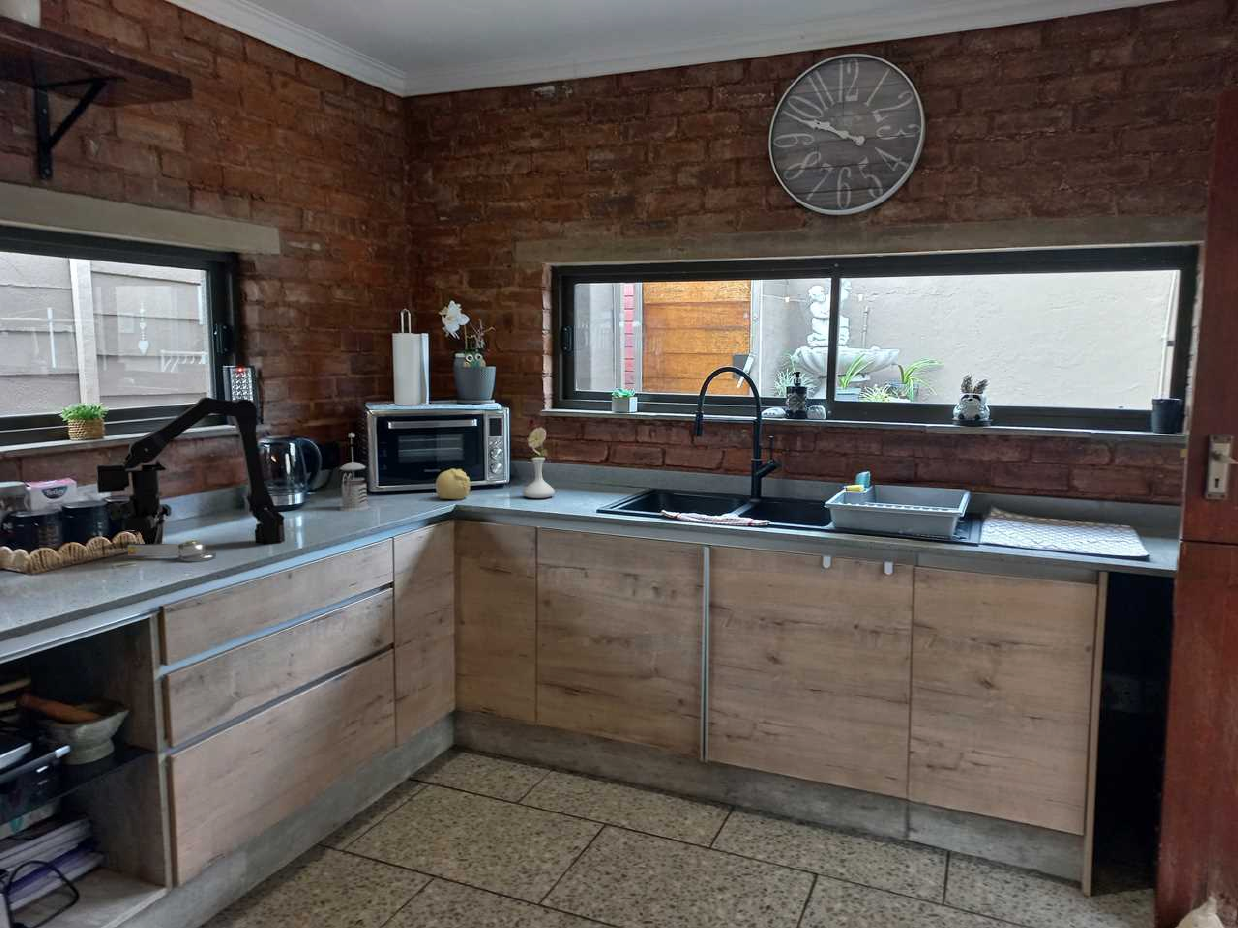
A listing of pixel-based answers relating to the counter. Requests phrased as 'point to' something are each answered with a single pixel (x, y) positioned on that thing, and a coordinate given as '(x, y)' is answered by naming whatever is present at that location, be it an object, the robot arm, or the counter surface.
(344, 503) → the french press
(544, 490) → the flower in vase
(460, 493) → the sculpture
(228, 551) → the counter surface
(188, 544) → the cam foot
